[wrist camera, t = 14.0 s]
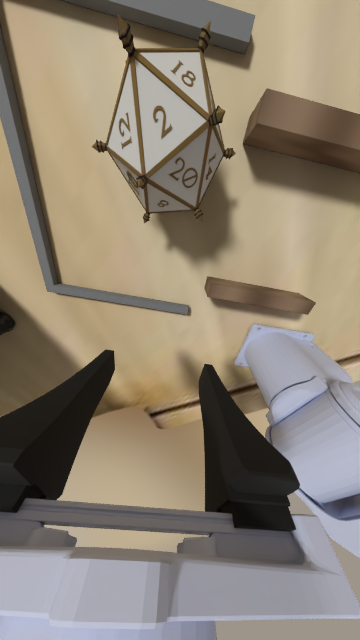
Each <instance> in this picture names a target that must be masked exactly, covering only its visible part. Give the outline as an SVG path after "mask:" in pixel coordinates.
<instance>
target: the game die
mask: <svg viewBox="0 0 360 640" xmlns="http://www.w3.org/2000/svg"><path fill="white" fill-rule="evenodd" d="M117 17H118V25H119V39H120V40H122V43H123V48H124V49H126V51H127V52H128V58H127V61H126V66H125V70H124V74H123V78H122V82H121V86H120V90H119V93H118V97H117V101H116V105H115V109H114V113H113V117H112V121H111V125H110V129H109V133H108V137H107V141H106V143H103V142H101V141H100V142H98V141H97V140H96V143H95V144H94V145H93V146H92V147H93V148H94V149H96V150H97V151H98V152H99V153H100V152H104V151H108V153H109V154H110V156H111V157H112V159H113V160H114V162H115V164H116V165H117V167H118V168H119V170H120V171H121V173H122V175H123V176H124V178H125V179H126V181H127V182H128V184H129V186H130V187H131V189H132V190H133V192H134V193H135V195H136V197H137V198H138V200H139V201H140V203H141V204H142V206H143V208H144V209H145V211H146V213H145V214H144V217H143V219H144V223H146V222H147V221H149V218H150V217H149V216H150V214H151V213H166V212H181V211H195V215H196V218H197V219H199V220H201V221H202V214H203V213H201V210H199V208H198V207H199V205H200V203H201V201H202V199H203V197H204V195H205V193H206V191H207V189H208V186H209V184H210V182H211V180H212V178H213V176H214V174H215V172H216V170H217V168H218V166H219V164H220V162H221V160H222V158H223V157H226V159H227V158H229V159H230V158H231V157H232V156H233V155H234V154H236V153H235V152H234V151H233V148H227V149H226V150H225V149H224V144H223V140H222V135H221V131H220V126H219V123H222V119H223V116H224V114H225V110H223V109H221V108H220V107H219V105H218V107H217V109H215V104H214V100H213V95H212V91H211V86H210V82H209V77H208V73H207V68H206V64H205V59H204V55H203V53H204V50H205V49H206V48H207V46H208V41H209V40H210V38H211V36H210V24H211V20H210V21H209V22H208V23H207V24H206V26H205V27H204V28H201V31H202V32H201V35H200V36H199V46H198V48H134V44H133V38H134V37H133V35H131V32H130V25H129V24H126V22H125V21H124V20H123V19H122V18H121V17H120V16H119V14H118V13H117Z"/></svg>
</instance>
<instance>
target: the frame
mask: <svg viewBox="0 0 360 640" xmlns="http://www.w3.org/2000/svg"><path fill="white" fill-rule="evenodd" d="M62 1H65V2H69V3H72V4H76V5H79V6H82V7H86V8H89V9H93V10H96V11H99V12H103V13H106V14H110V15H113V16H116V17H117V13H118V14H119V16H120V17H121V18H123V19H127V20H130V21H134V22H137V23H140V24H144V25H147V26H151V27H154V28H157V29H161V30H164V31H168V32H171V33H174V34H178V35H181V36H185V37H188V38H191V39H195V40H198V41H199V36H200V35H201V32H202V31H201V28H204V27H205V26H206V24H207V23H208V22H209V21H210V20H211V24H210V36H211V38H210V40H209V41H208V44H212V45H215V46H219V47H222V48H226V49H229V50H232V51H236V52H239V53H243V54H245V53H246V50H247V47H248V44H249V41H250V36H251V32H252V27H253V23H254V19H255V15H253V14H250V13H246V12H243V11H240V10H237V9H234V8H230V7H227V6H224V5H221V4H218V3H215V2H211V1H208V0H62ZM0 118H1V121H2V125H3V129H4V133H5V136H6V140H7V144H8V147H9V151H10V155H11V159H12V162H13V166H14V170H15V174H16V177H17V181H18V185H19V188H20V192H21V196H22V200H23V203H24V207H25V211H26V214H27V218H28V222H29V226H30V229H31V233H32V237H33V240H34V244H35V248H36V252H37V255H38V259H39V263H40V266H41V270H42V274H43V278H44V281H45V285H46V289H47V291H48V292H54V293H60V294H66V295H72V296H78V297H84V298H90V299H96V300H102V301H108V302H114V303H120V304H126V305H132V306H138V307H144V308H150V309H156V310H162V311H169V312H175V313H181V314H187V313H188V309H189V305H183V304H177V303H171V302H166V301H160V300H154V299H148V298H142V297H136V296H130V295H124V294H119V293H113V292H107V291H101V290H95V289H89V288H83V287H77V286H71V285H66V284H60V283H58V280H57V276H56V272H55V267H54V263H53V258H52V254H51V249H50V245H49V240H48V236H47V232H46V227H45V223H44V218H43V214H42V209H41V205H40V201H39V196H38V192H37V187H36V183H35V178H34V174H33V169H32V165H31V161H30V156H29V152H28V147H27V143H26V138H25V134H24V130H23V125H22V121H21V116H20V112H19V107H18V103H17V98H16V94H15V90H14V85H13V81H12V76H11V72H10V67H9V63H8V58H7V54H6V50H5V45H4V41H3V36H2V32H1V27H0Z"/></svg>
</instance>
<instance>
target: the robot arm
mask: <svg viewBox="0 0 360 640" xmlns="http://www.w3.org/2000/svg"><path fill="white" fill-rule="evenodd" d="M259 327H260V328H259ZM258 328H259V329H258ZM304 335H305V336H304ZM314 338H315V335H314V334H312V333H306V332H300V331H294V330H288V329H282V328H276V327H270V326H264V325H258V324H254V325H252V327H251V329H250V331H249V333H248V335H247V337H246V339H245V341H244V343H243V345H242V347H241V349H240V351H239V353H238V355H237V357H236V359H235V361H234V363H235V365H237V366H244V367H249V368H250V370H251V372H252V374H253V376H254V379H255V381H256V383H257V385H258V387H259V389H260V391H261V393H262V395H263V398H264V400H265V402H266V404H267V406H268V408H269V412H268V413H267V414H266V417H267V419H268V422H269V424H270V426H269V427H268V428H267V430H266V435H265V438H264V437H263V435H262V434H261V433H260V432H259V431H258V430H257V429H256V428H255V427H254V426H253V425H252V423H251V422H250V421H249V420H248V419H247V418H246V416H245V415H244V414H243V413H242V411H241V410H240V409H239V407H238V406H237V405H236V403H235V402H234V400H233V399H232V398H231V396H230V395H229V393H228V391H227V390H226V388H225V387H224V385H223V383H222V382H221V380H220V378H219V376H218V375H217V373H216V371H215V369H214V367H213V366H212V365H209V364H205V365H204V367H203V370H202V373H201V376H200V379H199V397H200V405H201V412H202V420H203V428H204V449H205V512H203V511H190V510H176V509H163V508H150V507H137V506H123V505H110V504H97V503H83V502H71V501H58V500H57V499H58V498H59V497H60V496H61V495H62V493H63V490H64V487H65V484H66V482H67V479H68V476H69V473H70V471H71V468H72V465H73V463H74V460H75V457H76V455H77V452H78V449H79V447H80V444H81V442H82V439H83V437H84V434H85V432H86V429H87V427H88V425H89V422H90V420H91V418H92V416H93V413H94V411H95V409H96V408H97V406H98V404H99V402H100V400H101V398H102V396H103V394H104V392H105V391H106V389H107V387H108V385H109V383H110V381H111V378H112V375H113V373H114V370H115V363H114V351H112V350H105V351H103V352H102V353H101V354H100V355H99V356H98V357H96V358H95V359H94V360H93V361H92V362H90V363H89V364H88V365H87V366H85V367H84V368H83V369H82V370H80V371H79V372H78V373H76V374H75V375H74V376H72V377H71V378H69V379H68V380H67V381H65V382H64V383H62V384H61V385H59V386H58V387H56V388H54V389H53V390H51V391H50V392H48V393H46V394H44V395H43V396H41V397H39V398H38V399H36V400H34V401H32V402H30V403H28V404H27V405H25V406H23V407H21V408H19V409H17V410H15V411H13V412H11V413H9V414H7V415H5V416H3V417H0V640H217V638H216V625H215V621H217V620H218V621H219V620H261V619H265V620H266V619H314V618H343V619H344V618H345V619H346V618H347V619H360V605H359V603H358V601H357V599H356V596H355V594H354V592H353V590H352V588H351V586H350V584H349V581H348V579H347V577H346V575H345V573H344V571H343V569H342V566H341V564H340V562H339V560H338V558H337V556H336V554H335V551H334V549H333V547H332V545H331V543H330V541H329V539H328V537H327V534H328V535H329V536H330V537H331V538H332V539H333V540H334V541H335V542H337V543H338V544H340V545H341V546H343V547H344V548H345V549H347V550H348V551H350V552H351V553H353V554H354V555H356V556H357V557H359V558H360V387H359V386H357V385H355V384H353V382H352V380H351V378H350V376H349V375H348V373H347V372H346V371H345V370H344V369H343V368H342V367H341V366H340V365H338V364H337V363H336V362H335V361H334V360H333V359H332V358H330V357H329V356H328V355H327V354H326V353H325V352H324V351H322V350H321V349H320V348H319V347H318V346H317V345H316V344H314V343H313V342H312V340H313V339H314ZM293 492H295V493H296V494H297V495H298V496H299V497H300V498H301V499H302V500H303V501H304V502H305V503H306V505H307V506H308V507H309V508H310V509H311V511H312V512H313V513H314V515H305V514H290V511H289V508H288V507H289V506H290V502H289V500H288V497H287V495H289V494H291V493H293ZM44 525H57V526H73V527H89V528H104V529H120V530H136V531H150V532H166V533H181V534H197V535H210V536H209V537H193V538H184V540H183V542H182V543H179V544H178V545H177V553H173V552H162V551H151V550H137V549H122V548H99V547H75V544H76V542H77V538H75V537H73V536H70V535H69V534H68V531H64V530H58V529H52V528H45V527H44ZM324 529H325V530H326V532H327V534H326V532H325V530H324Z"/></svg>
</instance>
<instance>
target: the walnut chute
mask: <svg viewBox="0 0 360 640" xmlns="http://www.w3.org/2000/svg"><path fill="white" fill-rule="evenodd" d="M243 144H246V145H250V146H254V147H258V148H262V149H266V150H270V151H274V152H278V153H282V154H286V155H290V156H294V157H298V158H302V159H306V160H310V161H314V162H318V163H322V164H326V165H330V166H334V167H338V168H342V169H346V170H350V171H354V172H358V173H360V114H356V113H353V112H349V111H346V110H342V109H339V108H335V107H331V106H328V105H324V104H321V103H317V102H314V101H310V100H307V99H303V98H299V97H296V96H292V95H289V94H285V93H282V92H278V91H274V90H271V89H266V91H265V92H264V94H263V96H262V97H261V99H260V101H259V102H258V104H257V106H256V108H255V109H254V111H253V113H252V114H251V116H250V118H249V122H248V126H247V129H246V133H245V137H244V141H243ZM205 291H206V294H207V297H211V298H217V299H222V300H228V301H234V302H239V303H245V304H251V305H257V306H262V307H268V308H274V309H279V310H285V311H291V312H296V313H302V314H309V312H310V311H311V309H312V308H313V306H314V305H315V302H313V301H312V300H310V299H308V298H306V297H304V296H303V295H301V294H299V293H295V292H289V291H284V290H278V289H273V288H268V287H262V286H257V285H251V284H246V283H241V282H235V281H230V280H224V279H219V278H213V277H208V276H207V280H206V284H205Z"/></svg>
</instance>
